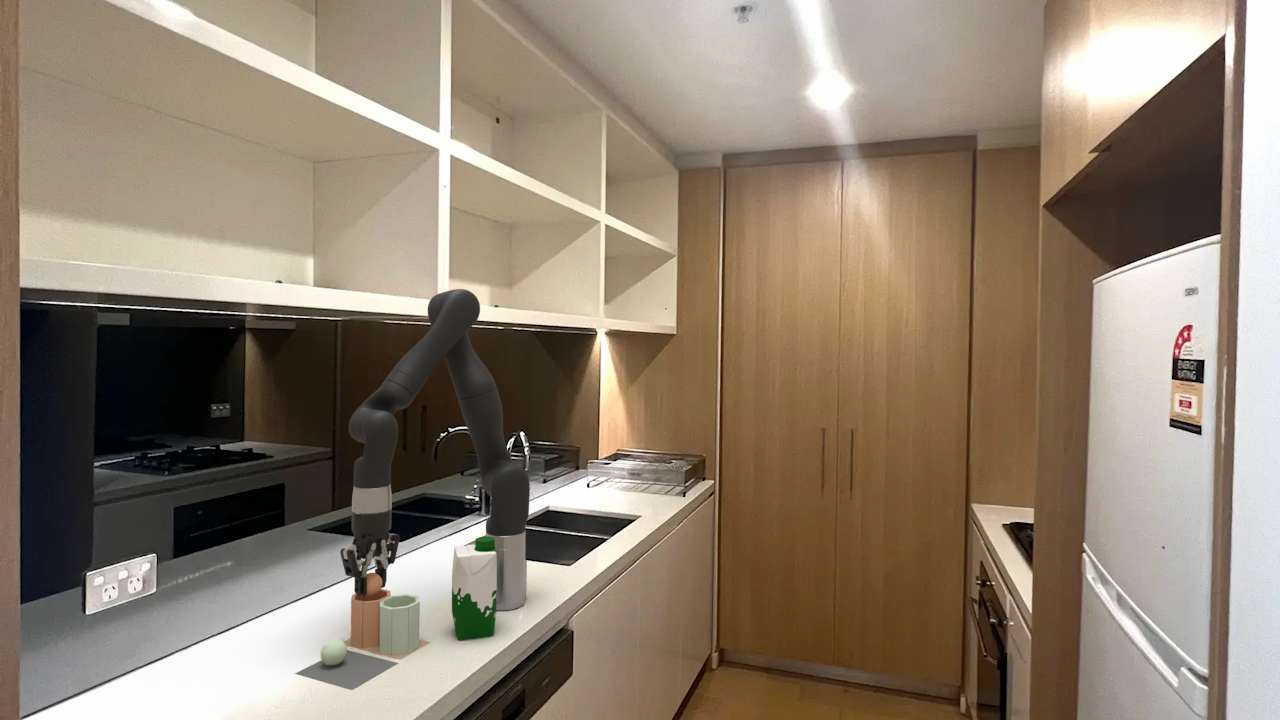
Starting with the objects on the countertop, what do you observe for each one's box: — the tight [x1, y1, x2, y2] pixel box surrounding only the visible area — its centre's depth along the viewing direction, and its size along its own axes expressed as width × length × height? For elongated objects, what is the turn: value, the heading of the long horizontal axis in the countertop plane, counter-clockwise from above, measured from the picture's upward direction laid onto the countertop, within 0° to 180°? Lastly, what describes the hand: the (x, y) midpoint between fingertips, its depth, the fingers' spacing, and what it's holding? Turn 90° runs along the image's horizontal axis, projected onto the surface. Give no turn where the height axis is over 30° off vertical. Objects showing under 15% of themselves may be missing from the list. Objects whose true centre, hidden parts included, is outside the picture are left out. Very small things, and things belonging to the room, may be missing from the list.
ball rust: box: [366, 572, 383, 596], centre depth 135 cm, size 4×4×4 cm
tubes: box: [342, 588, 431, 661], centre depth 133 cm, size 8×16×10 cm, turn 67°
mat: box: [294, 649, 399, 691], centre depth 123 cm, size 11×14×1 cm
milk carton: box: [451, 535, 497, 642], centre depth 139 cm, size 9×9×20 cm
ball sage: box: [320, 639, 348, 666], centre depth 124 cm, size 4×4×4 cm
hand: (370, 590), depth 135 cm, fingers closed on ball rust, 4 cm apart
